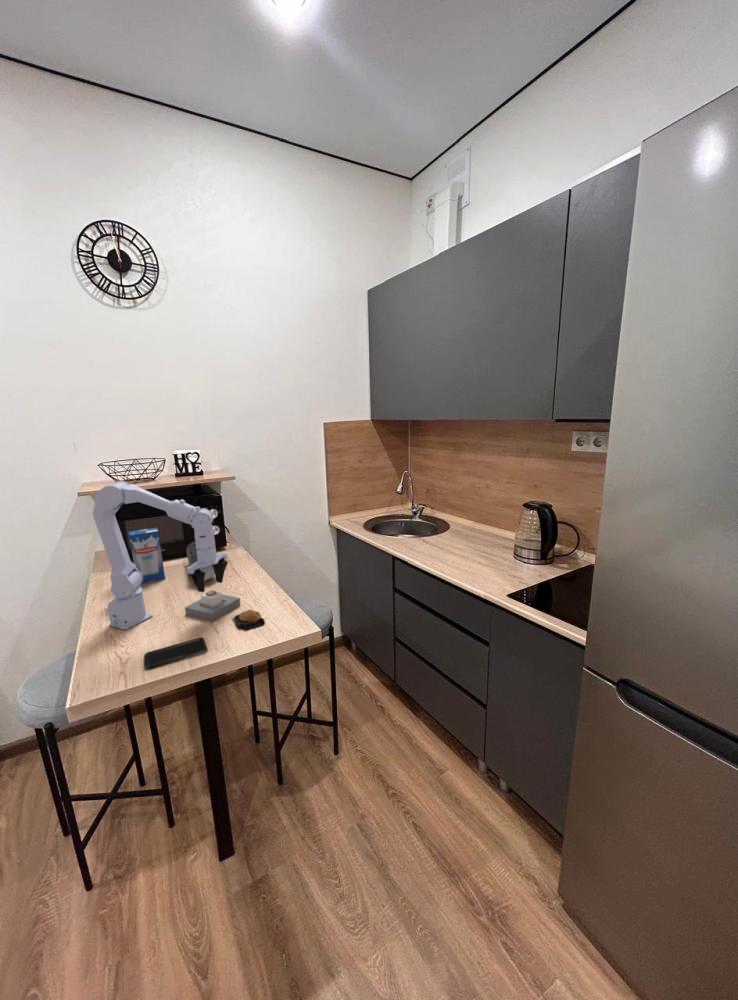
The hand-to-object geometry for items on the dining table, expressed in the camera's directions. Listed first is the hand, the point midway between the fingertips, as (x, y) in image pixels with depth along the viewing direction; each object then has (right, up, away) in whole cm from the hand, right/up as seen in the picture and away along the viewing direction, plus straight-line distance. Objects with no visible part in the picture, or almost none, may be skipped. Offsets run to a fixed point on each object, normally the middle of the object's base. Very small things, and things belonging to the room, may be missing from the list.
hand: (210, 586), depth 131 cm
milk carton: (-36, -4, +30) cm, 47 cm away
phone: (0, -14, -23) cm, 27 cm away
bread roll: (+15, -10, -7) cm, 19 cm away
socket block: (0, -8, +2) cm, 8 cm away
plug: (0, -8, +2) cm, 8 cm away
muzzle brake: (-18, -2, +35) cm, 40 cm away
